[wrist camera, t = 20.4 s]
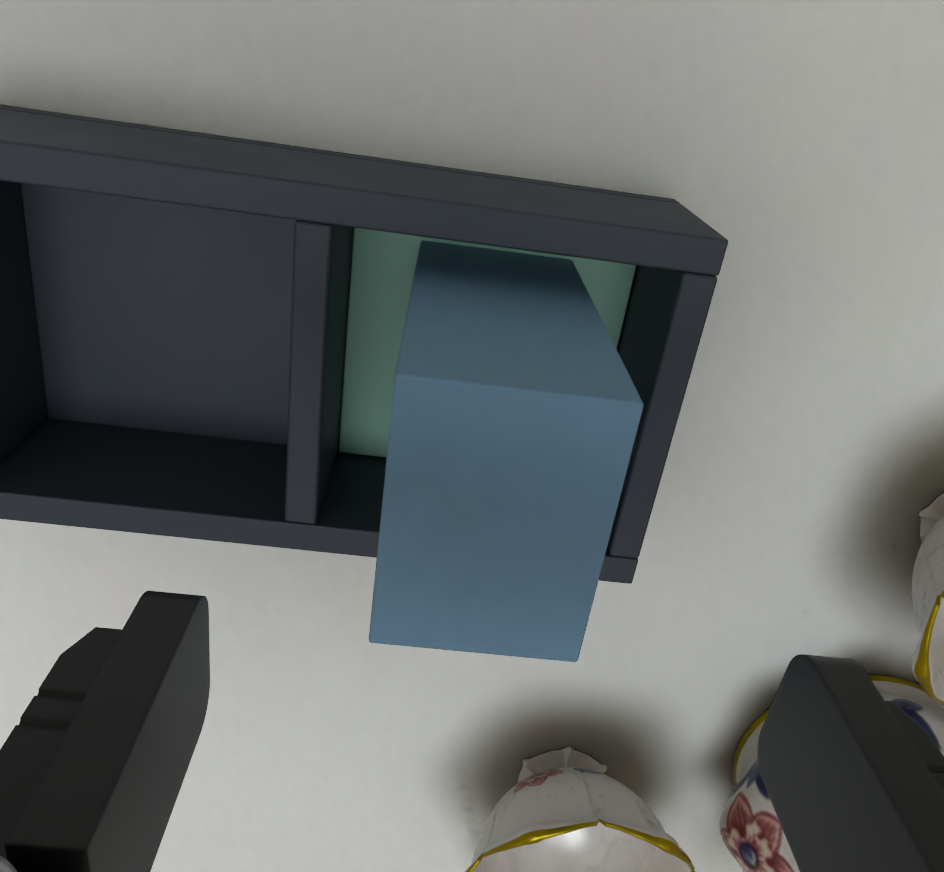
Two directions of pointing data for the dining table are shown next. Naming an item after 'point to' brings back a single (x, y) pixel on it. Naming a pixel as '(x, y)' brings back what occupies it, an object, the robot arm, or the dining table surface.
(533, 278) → the steel-blue rectangular block
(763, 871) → the chinaware
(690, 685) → the dining table surface
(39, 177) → the tray
